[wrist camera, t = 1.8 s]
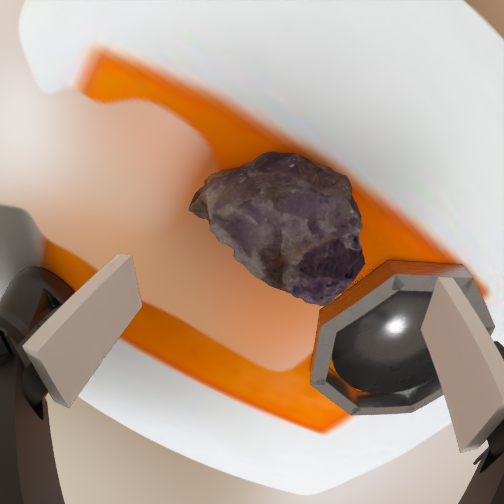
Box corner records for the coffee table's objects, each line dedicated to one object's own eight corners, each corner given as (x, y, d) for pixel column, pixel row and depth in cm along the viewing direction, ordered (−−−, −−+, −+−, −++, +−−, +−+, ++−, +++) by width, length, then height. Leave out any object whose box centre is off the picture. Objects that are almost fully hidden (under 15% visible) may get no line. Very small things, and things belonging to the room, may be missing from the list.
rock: (300, 272, 28) (374, 189, 24) (310, 342, 21) (416, 242, 17) (187, 205, 25) (255, 101, 21) (157, 264, 18) (252, 115, 13)
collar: (304, 397, 34) (303, 413, 32) (326, 255, 26) (328, 270, 24) (444, 394, 32) (448, 408, 29) (502, 267, 23) (514, 279, 21)
